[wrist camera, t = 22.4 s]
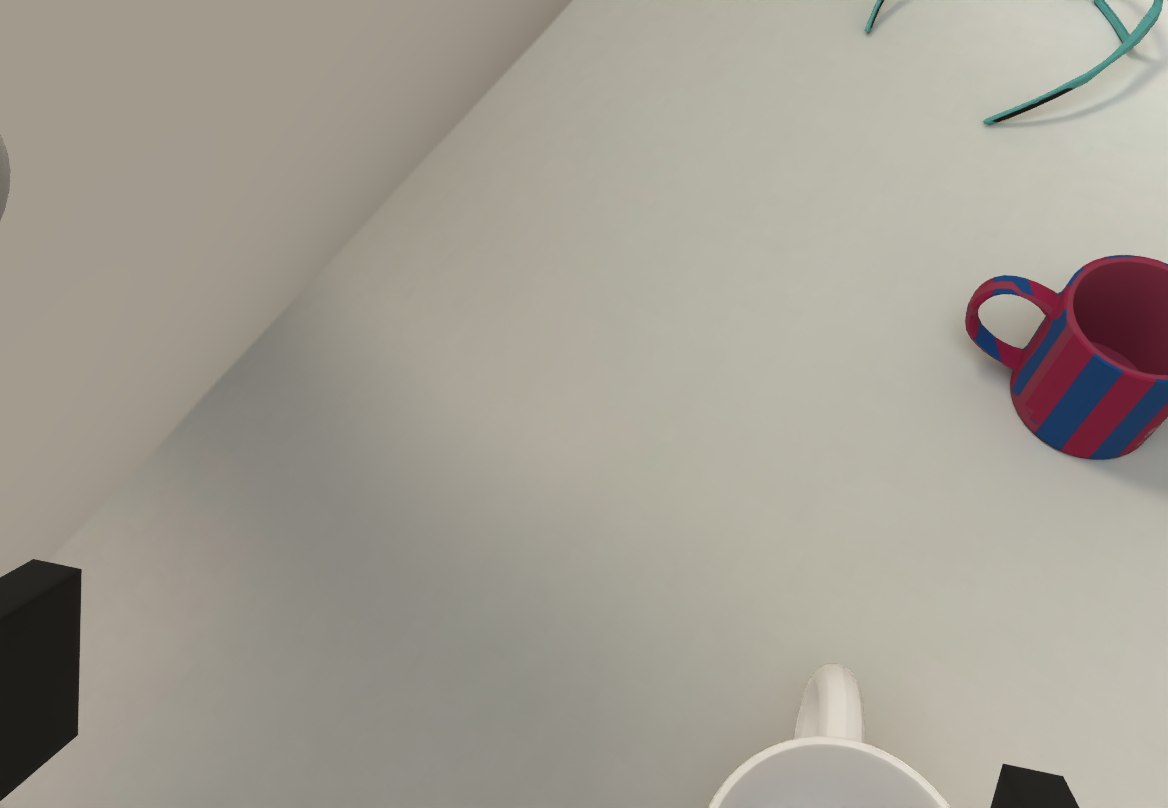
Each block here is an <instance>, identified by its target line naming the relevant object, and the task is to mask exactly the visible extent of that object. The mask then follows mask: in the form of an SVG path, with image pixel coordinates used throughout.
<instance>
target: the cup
mask: <svg viewBox="0 0 1168 808" xmlns="http://www.w3.org/2000/svg"><path fill="white" fill-rule="evenodd" d="M1000 294H1013V295H1017V296H1021V297H1023V298H1025V299H1028V300H1030V301H1031V302H1033V303H1034V304H1035V305H1037V306H1038V307H1039V308H1040V309H1041V311H1042V312H1043V313H1044V314H1045V315H1046V317H1045V318H1044V320H1043V322H1042V323H1041V325H1040V326H1039V328H1038V329H1037V331H1036V333H1035V334H1034V336H1033V337H1032V339H1031V340H1030V342H1029V343H1028V345H1027V346H1026V347H1025V348H1024V349H1020V348H1016V347H1013V346H1010V345H1008V344H1006V343H1004V342H1002V341H1001V340H999V339H998V338H996V337H995V336H993V335H992V334H991V333H990V332H989V331H988V330H987V329H986V328H985V327H984V326H983V325H982V324H981V321H980V319H979V317H978V309H979V307H980V305H981V304H982V303H983V302H985V301H986V300H987V299H989V298H991V297H993V296H995V295H1000ZM965 323H966V330H967V332H968V334H969V336H970V338H971V339H972V340H973V341H974V342H975V344H976V345H977V346H978V347H980V348H981V349H982V350H983V351H984V352H985V353H987V354H988V355H990V356H991V357H992V358H994V359H996V360H997V361H999V362H1001V363H1002V364H1004V365H1005V366H1007V367H1010V368H1012V369H1014V370H1013V372H1012V376H1011V382H1010V386H1011V396H1012V400H1013V403H1014V406H1015V408H1016V410H1017V412H1018V414H1019V416H1020V417H1021V418H1022V420H1023V421H1024V423H1025V424H1026V425H1027V426H1028V427H1029V428H1030V429H1031V431H1032V432H1033V433H1034V434H1036V435H1037V436H1038V437H1039V438H1041V439H1042V440H1043V441H1044V442H1046V443H1048V444H1049V445H1051V446H1053V447H1054V448H1056V449H1058V450H1061V451H1063V452H1065V453H1068V454H1071V455H1074V456H1078V457H1082V458H1089V459H1110V458H1116V457H1120V456H1123V455H1125V454H1128V453H1130V452H1132V451H1133V450H1135V449H1137V448H1138V447H1139V446H1140V445H1141V444H1142V443H1143V442H1144V441H1145V440H1146V439H1147V438H1148V437H1149V436H1150V435H1151V434H1152V433H1153V432H1154V431H1155V430H1156V429H1157V428H1158V427H1159V426H1160V425H1161V424H1162V422H1163V421H1164V420H1165V419H1166V418H1167V417H1168V264H1166V263H1163V262H1161V261H1158V260H1154V259H1150V258H1146V257H1141V256H1132V255H1116V256H1109V257H1104V258H1101V259H1097V260H1094V261H1092V262H1090V263H1088V264H1086V265H1085V266H1083V267H1082V268H1081V269H1079V270H1078V271H1077V272H1076V273H1075V274H1074V275H1073V277H1072V278H1071V280H1070V281H1069V282H1068V284H1067V285H1066V287H1065V288H1064V289H1063V291H1062V292H1060V293H1058V294H1057V293H1055V292H1054V291H1052V290H1050V289H1049V288H1047V287H1045V286H1043V285H1041V284H1039V283H1037V282H1034V281H1031V280H1029V279H1026V278H1021V277H1017V276H1006V275H1004V276H999V277H994V278H992V279H990V280H988V281H986V282H985V283H983V284H982V285H981V286H980V287H979V288H978V289H977V290H976V291H975V293H974V294H973V296H972V298H971V300H970V302H969V304H968V307H967V312H966V319H965Z"/></svg>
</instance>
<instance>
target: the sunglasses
mask: <svg viewBox="0 0 1168 808" xmlns="http://www.w3.org/2000/svg"><path fill="white" fill-rule="evenodd" d="M883 2H884V0H878V1H877V3H876V5H875V7H874V9H873V11H872V14H871V16H870V18H869V21H868V23H867V26H866V29H865V32H870V30H871V28H872V26H873V23H874V21H875V18H876V16H877V14H878V11H879V9H880V7H881V5H882V3H883ZM1094 2H1095V3H1096V4H1097V6H1098V7H1099V8H1100V9H1101V11H1102V12H1103V13H1104V15H1105V16H1106V17H1107V19H1108V20H1109V21H1110V23H1111V24H1112V25H1113V27H1114V28H1115V30H1116V31H1117V33H1118V35H1119V36H1120V38H1121V40H1122V42H1123V44H1122V45H1121V46H1120V47H1119V48H1118V49H1117V50H1116V51H1115V52H1114V53H1113V54H1112V55H1111V56H1109V57H1108V58H1107V59H1106V60H1105V61H1103V62H1102V63H1101V64H1099V65H1098V66H1096V67H1095V68H1093V69H1092V70H1090V71H1089V72H1087V73H1085V74H1083V75H1081V76H1079V77H1077V78H1075V79H1073V80H1071V81H1069V82H1067V83H1066V84H1064V85H1062V86H1060V87H1058V88H1056V89H1054V90H1053V91H1051V92H1049V93H1046V94H1044V95H1042V96H1040V97H1038V98H1036V99H1033V100H1031V101H1029V102H1027V103H1024V104H1022V105H1019V106H1017V107H1014V108H1012V109H1009V110H1007V111H1004V112H1002V113H999V114H997V115H994V116H992V117H989V118H987V119H985V120H984V121H983V122H984V123H986V124H989V125H991V124H994V123H997V122H1000V121H1003V120H1006V119H1009V118H1011V117H1013V116H1016V115H1018V114H1021V113H1023V112H1026V111H1028V110H1031V109H1033V108H1035V107H1037V106H1039V105H1042V104H1044V103H1046V102H1048V101H1050V100H1052V99H1055V98H1057V97H1059V96H1061V95H1063V94H1065V93H1067V92H1069V91H1071V90H1073V89H1075V88H1077V87H1079V86H1081V85H1083V84H1085V83H1087V82H1088V81H1089V80H1091V79H1092V78H1093V77H1095V76H1096V75H1097V74H1098V73H1100V72H1101V71H1102V70H1103V69H1105V68H1106V67H1107V66H1109V65H1110V64H1111V63H1113V62H1114V61H1115V60H1117V59H1118V58H1119V57H1121V56H1122V55H1124V54H1125V53H1126V52H1128V51H1129V50H1130V49H1132V48H1133V47H1134V46H1135V45H1137V44H1138V43H1139V42H1140V41H1141V40H1142V38H1143V37H1144V36H1145V35H1146V34H1147V33H1148V31H1149V30H1150V28H1151V27H1152V26H1153V25H1154V23H1155V22H1156V21H1157V19H1158V17H1159V15H1160V12H1161V10H1162V4H1163V0H1154V3H1153V5H1152V7H1151V8H1150V10H1149V11H1148V13H1147V14H1146V16H1145V17H1144V18H1143V19H1142V20H1141V22H1140V23H1139V25H1138V26H1137V27H1136V29H1135V30H1134V31H1133V32H1132V34H1131V35H1129V33H1128V32H1127V30H1126V29H1125V27H1124V26H1123V24H1122V23H1121V21H1120V20H1119V18H1118V17H1117V16H1116V14H1115V13H1114V12H1113V11H1112V9H1111V8H1110V7H1109V6H1108V4H1107V3H1106V2H1105V1H1104V0H1094Z"/></svg>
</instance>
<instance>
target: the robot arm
mask: <svg viewBox="0 0 1168 808" xmlns="http://www.w3.org/2000/svg"><path fill="white" fill-rule="evenodd" d="M80 613H81V569H78V568H73V567H68V566H64V565H59V564H54V563H49V562H45V561H40V560H35V559H33V560H31V561H29V562H27V563H26V564H24V565H22V566H20V567H19V568H17V569H15V570H13V571H11V572H9V573H8V574H6V575H4V576H2V577H0V801H1V800H2V799H3V798H5V797H6V796H7V795H8V794H9V793H10V792H12V791H13V790H14V789H15V788H16V787H17V786H19V785H20V784H21V783H22V782H23V781H25V780H26V779H27V778H28V777H29V776H30V775H32V774H33V773H34V772H35V771H36V770H37V769H39V768H40V767H41V766H42V765H43V764H44V763H46V762H47V761H48V760H49V759H50V758H51V757H53V756H54V755H55V754H56V753H57V752H58V751H60V750H61V749H62V748H63V747H64V746H65V745H67V744H68V743H69V742H70V741H71V740H72V739H74V738H75V737H76V736H77V735H78V702H79V658H80ZM991 808H1079V806H1078V804H1077V802H1076V800H1075V798H1074V797H1073V795H1072V793H1071V791H1070V789H1069V787H1068V785H1067V783H1066V781H1065V779H1064V777H1063V776H1059V775H1054V774H1049V773H1045V772H1040V771H1035V770H1030V769H1026V768H1021V767H1016V766H1011V765H1007V764H1003V765H1002V769H1001V772H1000V776H999V779H998V783H997V787H996V790H995V794H994V797H993V801H992V804H991Z"/></svg>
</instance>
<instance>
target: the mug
mask: <svg viewBox="0 0 1168 808" xmlns="http://www.w3.org/2000/svg"><path fill="white" fill-rule="evenodd" d="M708 808H950V806H949V805H948V803H947V802H946V801H945V800H944V799H943V797H942V796H941V795H940V794H939V793H938V792H937V790H936V789H935V788H934V787H933V786H932V785H931V784H930V783H929V782H928V781H927V780H926V779H924V778H923V777H922V776H921V775H920V774H919V773H918V772H916V771H915V770H914V769H912V768H911V767H910V766H908V765H907V764H906V763H904V762H903V761H901V760H899V759H898V758H896V757H894V756H892V755H891V754H889V753H887V752H885V751H883V750H881V749H878V748H876V747H874V746H871V745H869V744H865V724H864V709H863V702H862V696H861V692H860V688H859V686H858V684H857V681H856V679H855V677H854V675H853V674H852V673H851V672H850V671H849V670H848V669H847V668H846V667H844V666H841V665H839V664H835V663H830V664H825V665H823V666H821V667H819V668H818V669H817V670H816V671H815V672H814V673H813V675H812V676H811V678H810V680H809V682H808V684H807V687H806V689H805V692H804V696H803V699H802V702H801V706H800V710H799V714H798V719H797V723H796V728H795V734H794V739H792V740H788V741H783V742H780V743H778V744H775V745H773V746H770V747H768V748H766V749H764V750H762V751H760V752H759V753H757V754H755V755H754V756H752V757H750V758H749V759H748V760H747V761H745V762H744V763H743V764H741V765H740V766H739V767H738V768H737V769H736V770H735V771H734V772H733V773H732V774H731V775H730V776H729V777H728V778H727V779H726V780H725V781H724V783H723V784H722V785H721V787H720V788H719V790H718V791H717V792H716V794H715V795H714V797H713V799H712V801H711V803H710V805H709V806H708Z"/></svg>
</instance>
